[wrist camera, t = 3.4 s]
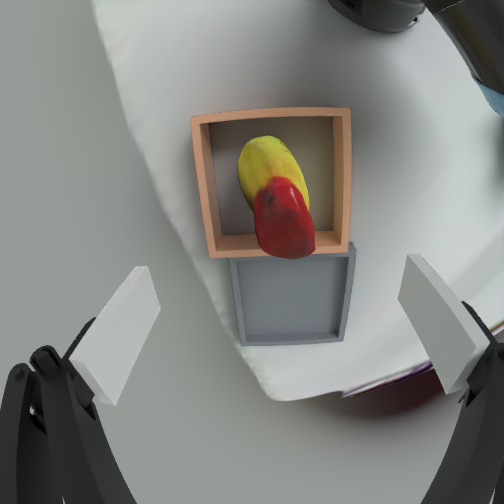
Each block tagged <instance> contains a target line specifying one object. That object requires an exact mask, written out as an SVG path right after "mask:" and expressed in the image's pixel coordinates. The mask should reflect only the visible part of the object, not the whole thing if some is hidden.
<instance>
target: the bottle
mask: <svg viewBox="0 0 504 504" xmlns="http://www.w3.org/2000/svg"><path fill="white" fill-rule="evenodd" d="M237 172H238V179H239V183H240V186H241V189H242V192H243V194H244V197H245V199H246V201H247V203H248V205H249V206H250V208H251V210H252V211H253V213H254V221H255V232H256V237H257V241H258V244H259V246H260V248H261V249H262V250H263V251H264V252H265V253H267V254H269V255H272V256H275V257H279V258H286V259H298V258H302V257H306V256H309V255H310V254H312V253H313V252H314V251H315V250H316V248H315V230H314V226H313V222H312V219H311V216H310V214H309V196H308V190H307V187H306V183H305V180H304V177H303V174H302V172H301V169H300V167H299V165H298V164H297V162H296V160H295V158H294V157H293V155H292V153H291V152H290V151H289V150H288V148H287V147H286V146H285V143H283V142H282V141H281V140H280V139H278V138H276V137H273V136H263V137H257V138H254V139H252V140H250V141H248V142H247V143H246V144H245V145H244V147H243V149H242V151H241V154H240V156H239V160H238V166H237Z"/></svg>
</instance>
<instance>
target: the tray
mask: <svg viewBox="0 0 504 504" xmlns="http://www.w3.org/2000/svg"><path fill="white" fill-rule="evenodd" d="M228 259H229V266H230V273H231V280H232V287H233V294H234V301H235V308H236V315H237V321H238V328H239V334H240V341H241V346H275V345H299V344H316V343H329V342H341V341H343V339H344V334H345V328H346V323H347V317H348V311H349V304H350V298H351V291H352V284H353V276H354V268H355V259H356V248H355V247H354V245H353V243H352V242H349V245H348V252H345V253H323V254H310V255H309V256H306V257H302V258H298V259H286V258H279V257H275V256H254V257H230V258H228Z"/></svg>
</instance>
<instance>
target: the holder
mask: <svg viewBox="0 0 504 504" xmlns="http://www.w3.org/2000/svg"><path fill="white" fill-rule="evenodd" d="M273 117H333V137H334V222H333V231H315V248H316V250H315V251H314V252H313V253H312V254H323V253H345V252H348V245H349V231H350V214H351V188H352V136H351V111H350V108H334V107H284V108H264V109H250V110H238V111H229V112H220V113H212V114H205V115H198V116H192V117H190V123H191V132H192V141H193V149H194V157H195V165H196V173H197V180H198V187H199V195H200V201H201V208H202V215H203V221H204V228H205V234H206V240H207V246H208V252H209V258H230V257H254V256H272V255H269V254H267V253H265V252H264V251H263V250H262V249H261V248H260V246H259V244H258V241H257V237H256V234H240V235H222V231H221V224H220V216H219V208H218V200H217V192H216V184H215V176H214V167H213V159H212V150H211V141H210V131H209V123H216V122H224V121H233V120H244V119H257V118H273Z"/></svg>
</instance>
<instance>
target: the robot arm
mask: <svg viewBox="0 0 504 504" xmlns="http://www.w3.org/2000/svg"><path fill="white" fill-rule="evenodd" d="M328 1H329V2H330V3H331V5H332V6H333V7H334V8H335V9H336V10H338V11H339V12H340V13H341V14H342V15H344V16H345V17H347V18H348V19H350V20H351V21H353V22H355V23H357V24H359V25H361V26H363V27H365V28H368V29H371V30H374V31H379V32H385V33H396V32H401V31H404V30H406V29H408V28H410V27H412V26H413V25H415V24H416V23H417V22H418V21H419V20H420V19H421V17H422V15H423V13H424V10H425V8H426V7H427V9H428V10H429V11H430V12H431V13H432V15H433V16H434V17H435V19H436V20H437V21H438V23H439V24H440V25H441V27H442V28H443V29H444V31H445V32H446V33H447V35H448V36H449V38H450V39H451V40H452V42H453V43H454V45H455V46H456V48H457V49H458V51H459V53H460V54H461V56H462V58H463V59H464V61H465V63H466V64H467V66H468V68H469V70H470V71H471V75H472V77H473V79H474V81H475V82H476V83H477V84H478V85H479V87H480V89H481V90H482V92H483V94H484V96H485V98H486V100H487V102H488V103H489V105H490V106H491V107H492V109H493V110H494V111H495V112H497V113H498V114H500V115H502V116H503V117H504V0H464V1H463V0H328ZM461 1H462V2H461ZM458 2H459V3H458ZM456 3H457V4H456ZM454 4H455V5H454ZM451 5H453V6H451ZM449 6H450V7H449ZM447 7H448V8H447ZM445 8H446V9H445ZM443 9H444V10H443ZM441 10H442V11H441ZM439 11H440V12H439ZM398 300H399V302H400V304H401V305H402V307H403V309H404V311H405V312H406V314H407V316H408V318H409V320H410V321H411V323H412V325H413V327H414V329H415V331H416V332H417V334H418V336H419V338H420V340H421V342H422V344H423V346H424V348H425V350H426V352H427V354H428V356H429V358H430V360H431V362H432V364H433V366H434V368H435V370H436V372H437V374H438V376H439V379H440V381H441V383H442V386H443V388H444V390H445V392H446V394H450V393H453V392H455V391H458V390H460V389H461V388H462V386H463V385H464V384H465V382H466V381H467V382H468V384H469V387H468V389H467V390H466V391H465V393H464V394H463V395H462V397H461V398H460V400H459V402H458V403H460V402H461V401H462V400H463V399H464V401H463V405H462V408H461V411H460V415H459V418H458V421H457V424H456V427H455V430H454V433H453V435H452V438H451V441H450V443H449V446H448V449H447V451H446V453H445V456H444V458H443V461H442V463H441V465H440V467H439V469H438V472H437V474H436V476H435V478H434V480H433V482H432V484H431V486H430V488H429V490H428V492H427V493H426V495H425V497H424V499H423V500H422V502H421V504H489V503H490V500H491V498H492V495H493V492H494V489H495V494H494V498H493V503H492V504H504V343H498V342H497V341H496V339H495V338H494V336H493V335H492V334H491V332H490V331H489V329H488V328H487V327H486V325H485V324H484V322H482V320H481V318H480V317H479V316H478V314H477V313H476V312H475V311H474V309H473V308H472V307H471V306H470V305H468V304H467V303H465V302H464V301H462V302H461V301H460V300H459V299H458V298H457V296H456V295H455V294H454V293H453V291H452V290H451V289H450V288H449V287H448V285H447V284H446V283H445V282H444V281H443V279H442V278H441V277H440V276H439V275H438V274H437V273H436V271H435V270H434V269H433V268H432V267H431V266H430V265H429V263H428V262H427V261H426V260H425V259H424V258H423V257H422V256H421V255H420V254H407V260H406V265H405V270H404V274H403V279H402V283H401V288H400V292H399V296H398ZM160 310H161V308H160V304H159V301H158V298H157V295H156V292H155V288H154V285H153V282H152V278H151V275H150V272H149V268H148V266H136V267H135V268H134V269H133V270H132V271H131V273H130V274H129V275H128V276H127V278H126V279H125V280H124V282H123V283H122V284H121V285H120V287H119V288H118V289H117V291H116V292H115V293H114V295H113V296H112V297H111V299H110V300H109V301H108V303H107V304H106V305H105V307H104V308H103V310H102V311H101V312H100V314H99V315H98V317H97V318H96V317H94V318H93V319H91V320H90V321H89V322H88V323H86V324H85V326H84V327H83V329H82V330H81V331H80V333H79V334H78V336H77V337H76V340H74V341H73V343H72V344H71V346H70V347H69V349H68V350H67V352H66V353H65V355H64V356H63V358H62V359H61V358H60V357H59V355H58V354H57V352H56V351H55V349H54V348H53V347H52V346H48V345H46V346H42V347H40V348H38V349H37V350H36V351H35V352H34V353H33V354H32V356H31V358H30V364H31V365H32V366H33V368H34V369H35V370H36V371H32V370H31V369H30V368H29V366H28V365H27V364H25V363H20V364H17V365H15V366H14V367H13V368H12V370H11V371H10V373H9V375H8V379H7V383H6V387H5V391H4V395H3V399H2V405H1V409H0V504H63V499H64V501H65V504H137V503H136V501H135V500H134V498H133V496H132V494H131V492H130V490H129V488H128V486H127V484H126V482H125V480H124V478H123V476H122V474H121V472H120V470H119V468H118V465H117V463H116V461H115V458H114V456H113V454H112V452H111V449H110V446H109V444H108V441H107V439H106V436H105V433H104V431H103V428H102V425H101V422H100V419H99V416H98V413H97V410H96V406H95V404H94V403H93V401H92V399H93V397H94V395H95V396H96V397H97V398H98V399H99V401H100V402H101V403H104V404H108V405H112V406H116V404H117V402H118V399H119V397H120V395H121V392H122V390H123V388H124V386H125V383H126V381H127V379H128V377H129V374H130V372H131V370H132V368H133V366H134V364H135V361H136V359H137V357H138V355H139V353H140V351H141V348H142V347H143V345H144V342H145V340H146V338H147V336H148V334H149V332H150V330H151V328H152V326H153V324H154V322H155V320H156V318H157V316H158V314H159V312H160ZM30 407H32V409H33V410H34V413H33V415H32V414H31V413H30ZM62 496H63V498H62Z"/></svg>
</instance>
